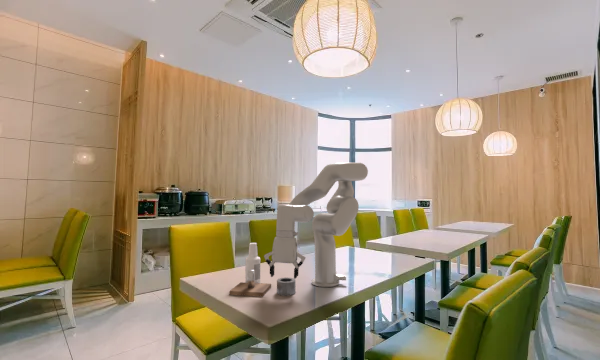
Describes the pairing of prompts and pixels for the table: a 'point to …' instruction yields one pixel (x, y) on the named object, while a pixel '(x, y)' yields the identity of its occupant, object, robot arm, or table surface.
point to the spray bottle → (253, 263)
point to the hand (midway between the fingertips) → (283, 277)
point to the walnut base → (250, 289)
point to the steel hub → (286, 286)
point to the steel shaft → (251, 278)
